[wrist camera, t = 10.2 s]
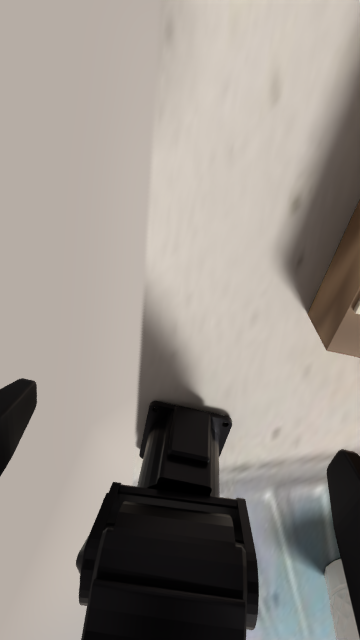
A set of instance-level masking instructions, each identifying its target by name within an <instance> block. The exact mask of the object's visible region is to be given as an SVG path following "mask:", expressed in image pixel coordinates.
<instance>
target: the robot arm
mask: <svg viewBox="0 0 360 640" xmlns="http://www.w3.org/2000/svg"><path fill="white" fill-rule="evenodd" d="M36 389H37V387H36V382H35V381H32V380H28V379H23V378H22V379H19V380H17V381H15V382H13V383H11V384H9V385H7V386H5V387H4V388H2V389H0V476H1V474H2V473H3V471H4V469H5V468H6V466H7V464H8V463H9V461H10V459H11V458H12V456H13V454H14V452H15V450H16V448H17V446H18V443H19V441H20V439H21V437H22V435H23V433H24V430H25V429H26V427H27V425H28V423H29V420H30V418H31V416H32V414H33V412H34V410H35V407H36V404H37V390H36ZM154 407H156V408H154ZM224 422H227V423H224ZM231 427H232V420H231V418H230V417H228V416H224V415H219V414H214V413H210V412H205V411H200V410H196V409H191V408H186V407H182V406H177V405H172V404H167V403H163V402H158V401H153V402H151V403H150V406H149V411H148V416H147V420H146V425H145V430H144V435H143V440H142V445H141V449H140V457H141V458H142V459H143V463H142V467H141V472H140V476H139V481H138V485H137V487H136V486H129V485H121V483H117V482H113V483H112V486H111V488H110V491H109V493H107V494H106V496H105V498H104V500H103V503H102V505H101V508H100V510H99V513H98V515H97V518H96V520H95V523H94V525H93V527H92V530H91V532H90V535H89V536H88V538H87V540H86V542H85V543H84V545H83V547H82V548H81V550H80V552H79V554H78V557H77V560H76V566H77V568H78V570H79V573H80V588H79V603H80V605H85V606H87V611H86V616H85V622H84V627H83V634H82V639H81V640H246V629H249V630H253V629H254V628H255V625H256V621H257V615H258V598H259V586H258V568H257V559H256V553H255V548H254V542H253V537H252V532H251V527H250V522H249V517H248V511H247V506H246V501H245V499H242V498H236V499H230V498H222V497H219V456H220V454H221V451H222V449H223V446H224V444H225V441H226V439H227V436H228V434H229V432H230V429H231ZM327 479H328V487H329V495H330V502H331V510H332V518H333V524H334V530H335V535H336V539H337V544H338V548H339V552H340V557H341V561H342V565H343V569H344V574H345V578H346V582H347V587H348V591H349V595H350V600H351V604H352V608H353V613H354V617H355V621H356V626H357V630H358V634H359V638H360V456H359V455H358V454H357V453H355V452H353V451H348V450H344V449H341V450H339V451H338V452H337V454H336V455H335V457H334V458H333V460H332V461H331V463H330V464H329V466H328V468H327Z"/></svg>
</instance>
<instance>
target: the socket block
mask: <svg viewBox="0 0 360 640" xmlns="http://www.w3.org/2000/svg"><path fill="white" fill-rule="evenodd" d="M308 316H309V318H310V320H311V322H312V324H313V326H314V327H315V329H316V331H317V333H318V335H319V337H320V339H321V341H322V343H323V345H324V347H325V348H326V350H327V351H331V352H336V353H340V354H345V355H349V356H354V357H359V358H360V200H359V202H358V205H357V207H356V209H355V211H354V213H353V216H352V218H351V220H350V222H349V224H348V227H347V229H346V231H345V233H344V235H343V238H342V240H341V242H340V244H339V246H338V248H337V251H336V253H335V255H334V257H333V259H332V262H331V264H330V266H329V268H328V270H327V273H326V275H325V277H324V279H323V281H322V284H321V286H320V288H319V290H318V292H317V295H316V297H315V299H314V301H313V303H312V305H311V308H310V310H309V312H308Z"/></svg>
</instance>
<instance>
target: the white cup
mask: <svg viewBox="0 0 360 640" xmlns="http://www.w3.org/2000/svg"><path fill="white" fill-rule="evenodd" d="M324 576H325V581H326V586H327V590H328V595H329V599H330V608H331V614H332V618H333V622H334V629H335V635H336V640H360V638H359V634H358V630H357V626H356V621H355V617H354V613H353V608H352V604H351V600H350V595H349V591H348V587H347V582H346V578H345V574H344V569H343V565H342V561H341V559H338V560H335V561H333V562H332V563H331V564H329V565H328V566H327V567H326V569H325V573H324Z"/></svg>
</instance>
